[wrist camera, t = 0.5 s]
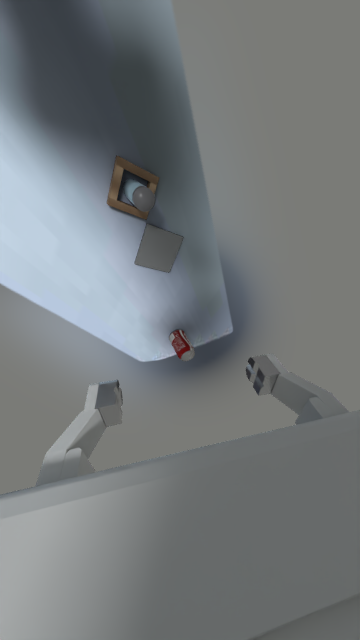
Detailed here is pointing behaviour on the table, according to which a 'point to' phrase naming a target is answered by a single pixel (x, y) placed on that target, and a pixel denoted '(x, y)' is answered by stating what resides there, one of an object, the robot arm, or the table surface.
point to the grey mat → (158, 248)
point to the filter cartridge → (139, 195)
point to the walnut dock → (116, 180)
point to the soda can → (182, 345)
